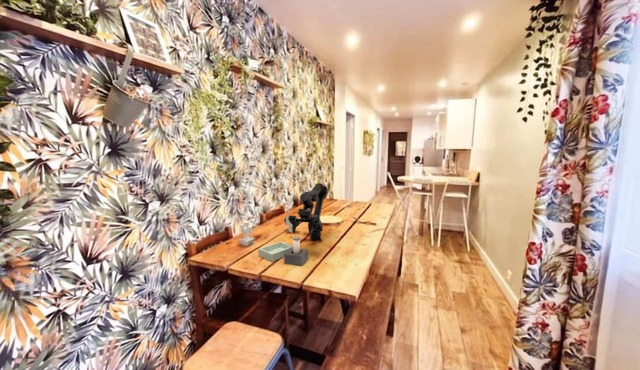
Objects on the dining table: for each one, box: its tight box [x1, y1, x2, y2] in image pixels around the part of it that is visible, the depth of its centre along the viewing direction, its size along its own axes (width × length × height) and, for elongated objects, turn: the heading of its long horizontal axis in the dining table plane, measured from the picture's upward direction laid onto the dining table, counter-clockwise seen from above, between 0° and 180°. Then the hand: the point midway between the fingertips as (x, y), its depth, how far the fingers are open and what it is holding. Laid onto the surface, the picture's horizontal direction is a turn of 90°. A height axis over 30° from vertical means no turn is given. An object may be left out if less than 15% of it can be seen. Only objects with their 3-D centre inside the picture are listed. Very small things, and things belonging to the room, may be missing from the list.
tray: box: [258, 241, 293, 262], centre depth 148 cm, size 16×12×4 cm
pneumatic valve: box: [283, 215, 301, 234], centre depth 188 cm, size 6×12×12 cm, turn 53°
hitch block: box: [283, 247, 309, 267], centre depth 140 cm, size 10×10×5 cm
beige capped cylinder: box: [292, 236, 301, 254], centre depth 139 cm, size 4×4×13 cm
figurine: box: [238, 220, 256, 247], centre depth 162 cm, size 7×9×15 cm
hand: (301, 233), depth 145 cm, fingers open, 9 cm apart
